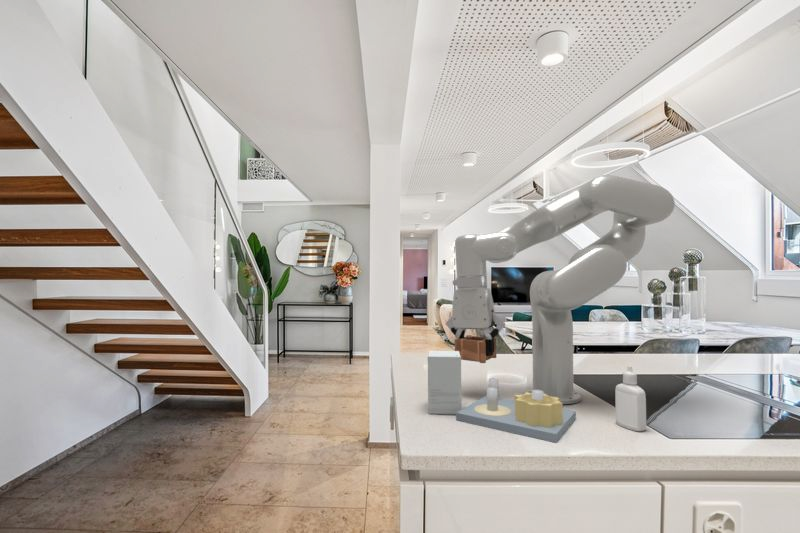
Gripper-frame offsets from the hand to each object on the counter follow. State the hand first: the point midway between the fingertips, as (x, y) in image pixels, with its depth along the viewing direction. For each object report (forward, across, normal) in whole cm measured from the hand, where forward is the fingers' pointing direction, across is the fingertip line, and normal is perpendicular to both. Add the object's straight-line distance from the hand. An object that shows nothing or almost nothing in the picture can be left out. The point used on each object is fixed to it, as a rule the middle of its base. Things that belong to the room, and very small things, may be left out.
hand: (476, 353), depth 101 cm
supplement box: (+10, -2, -14) cm, 18 cm away
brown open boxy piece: (+1, 0, 0) cm, 1 cm away
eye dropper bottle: (+12, +33, -2) cm, 36 cm away
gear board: (+11, +14, -11) cm, 21 cm away
